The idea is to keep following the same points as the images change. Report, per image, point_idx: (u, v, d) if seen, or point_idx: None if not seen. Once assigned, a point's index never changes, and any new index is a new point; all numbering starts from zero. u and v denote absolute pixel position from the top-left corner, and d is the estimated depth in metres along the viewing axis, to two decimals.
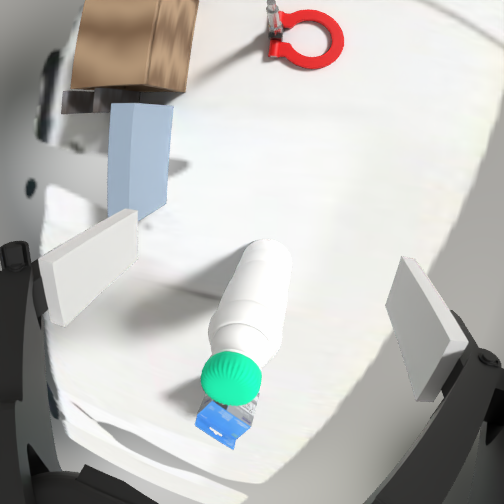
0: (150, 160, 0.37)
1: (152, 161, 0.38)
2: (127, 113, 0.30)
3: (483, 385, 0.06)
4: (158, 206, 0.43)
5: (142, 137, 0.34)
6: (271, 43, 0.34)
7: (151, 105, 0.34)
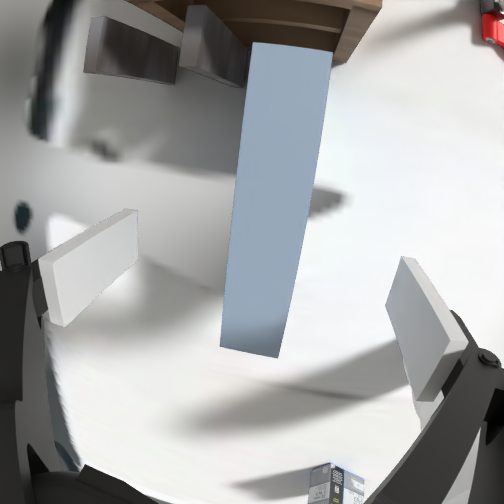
0: None
1: None
2: (307, 76, 0.10)
3: (483, 385, 0.06)
4: None
5: None
6: (489, 19, 0.14)
7: None
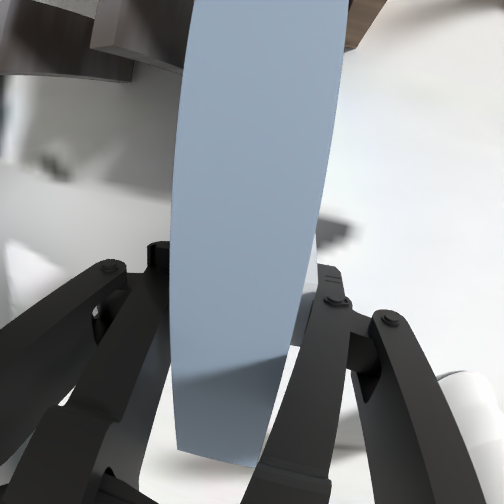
0: None
1: None
2: (300, 41, 0.05)
3: (336, 325, 0.09)
4: None
5: None
6: None
7: None
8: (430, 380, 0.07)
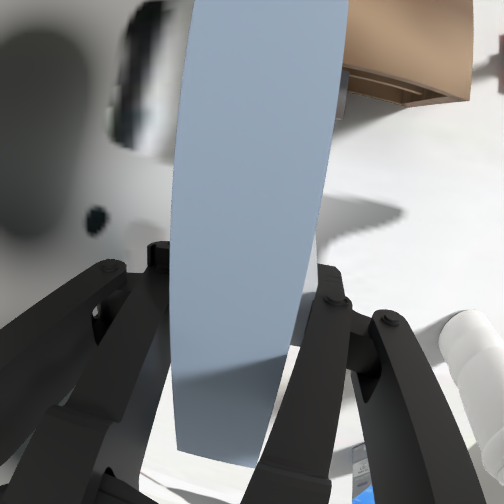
0: None
1: None
2: (300, 42, 0.05)
3: (336, 325, 0.09)
4: None
5: None
6: None
7: None
8: (429, 380, 0.07)
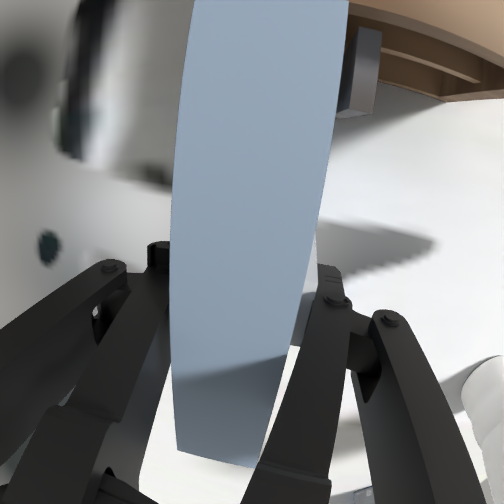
0: None
1: None
2: (300, 42, 0.05)
3: (336, 325, 0.09)
4: None
5: None
6: None
7: None
8: (429, 379, 0.07)
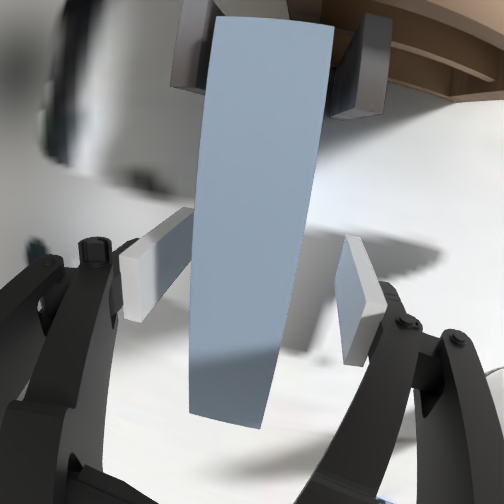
0: None
1: None
2: (296, 61, 0.07)
3: (405, 347, 0.08)
4: None
5: None
6: None
7: None
8: (486, 399, 0.06)
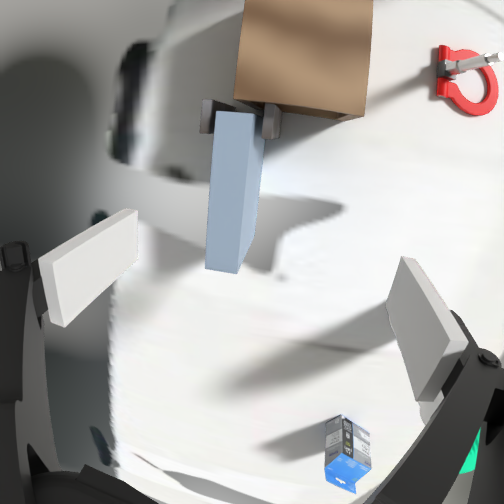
0: (253, 187, 0.31)
1: (253, 187, 0.32)
2: (241, 126, 0.24)
3: (483, 385, 0.06)
4: (251, 241, 0.37)
5: (252, 158, 0.28)
6: (441, 81, 0.28)
7: (259, 117, 0.28)
8: None
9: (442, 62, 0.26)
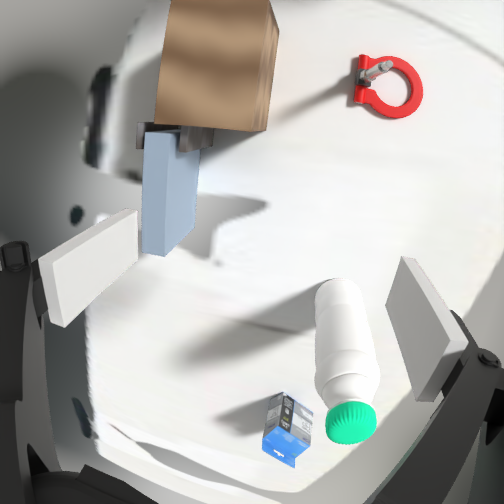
0: (183, 188, 0.39)
1: (184, 188, 0.39)
2: (162, 143, 0.32)
3: (483, 385, 0.06)
4: (188, 231, 0.44)
5: (176, 166, 0.35)
6: (358, 89, 0.35)
7: None
8: None
9: (358, 71, 0.33)
